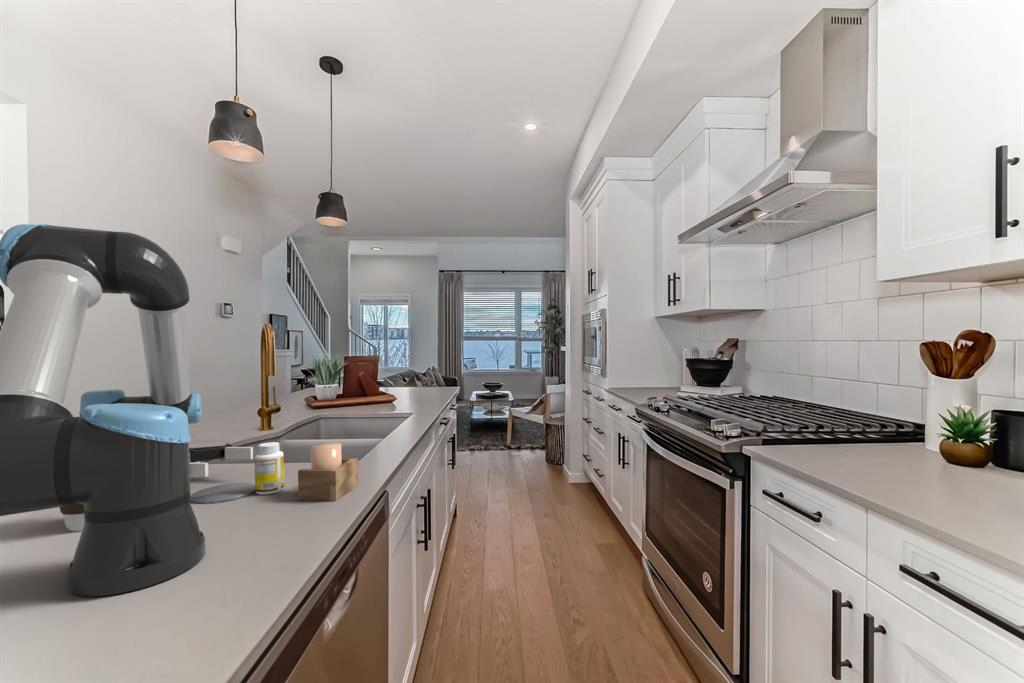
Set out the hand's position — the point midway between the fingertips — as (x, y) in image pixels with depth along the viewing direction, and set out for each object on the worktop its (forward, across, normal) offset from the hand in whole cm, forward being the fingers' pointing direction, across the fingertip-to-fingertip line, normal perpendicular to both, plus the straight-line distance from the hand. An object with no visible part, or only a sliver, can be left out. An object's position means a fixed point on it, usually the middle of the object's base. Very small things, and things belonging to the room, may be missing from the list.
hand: (231, 461), depth 99 cm
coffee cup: (-12, +19, -7) cm, 24 cm away
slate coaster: (0, +2, -6) cm, 7 cm away
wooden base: (+22, 0, -6) cm, 23 cm away
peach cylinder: (+22, 0, -6) cm, 23 cm away
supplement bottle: (+9, 0, -7) cm, 11 cm away
